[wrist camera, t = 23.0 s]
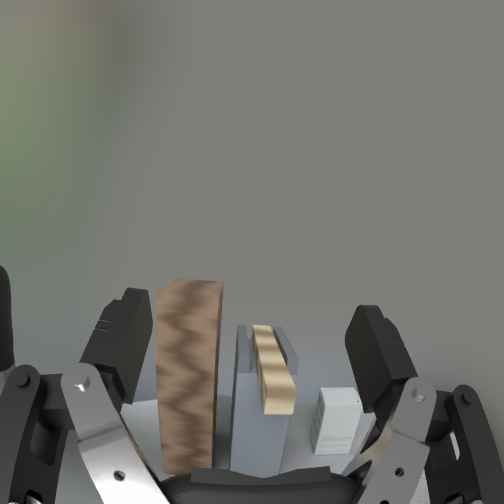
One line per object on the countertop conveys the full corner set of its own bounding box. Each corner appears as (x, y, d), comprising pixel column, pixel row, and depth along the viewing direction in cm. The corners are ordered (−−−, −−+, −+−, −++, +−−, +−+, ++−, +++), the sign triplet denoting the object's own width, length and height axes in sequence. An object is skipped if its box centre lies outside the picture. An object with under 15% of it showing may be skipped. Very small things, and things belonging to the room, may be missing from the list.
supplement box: (342, 434, 52) (355, 386, 51) (348, 454, 44) (364, 404, 44) (309, 434, 52) (319, 386, 52) (312, 455, 45) (325, 404, 44)
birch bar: (292, 414, 27) (296, 390, 27) (264, 414, 26) (267, 390, 26) (268, 341, 51) (269, 325, 51) (251, 340, 50) (252, 324, 50)
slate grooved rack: (229, 480, 37) (238, 356, 36) (229, 432, 52) (237, 324, 51) (276, 480, 38) (298, 358, 37) (268, 433, 52) (281, 327, 52)
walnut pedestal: (164, 472, 36) (156, 292, 35) (177, 427, 51) (178, 278, 50) (211, 478, 37) (218, 298, 36) (215, 431, 52) (223, 282, 51)
